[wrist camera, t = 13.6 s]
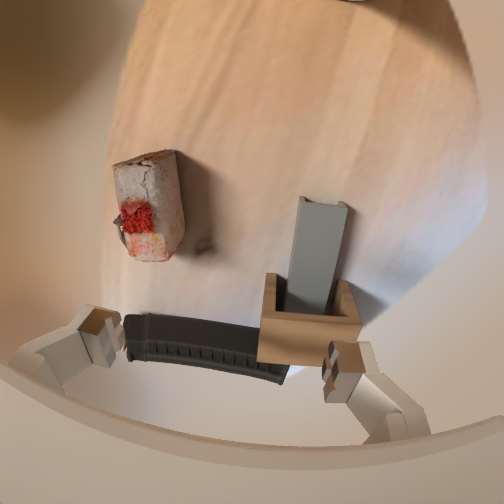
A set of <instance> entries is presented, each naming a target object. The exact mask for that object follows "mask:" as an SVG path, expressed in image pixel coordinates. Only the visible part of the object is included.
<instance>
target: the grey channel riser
mask: <svg viewBox="0 0 504 504" xmlns="http://www.w3.org/2000/svg"><path fill="white" fill-rule="evenodd" d="M347 211H348V208H347V206H346V205H345V204H344V202H341V201H339V203H338V206H336V205H328V204H321V203H313V202H306V201H305V198H304V197H303V196H299V204H298V211H297V218H296V226H295V233H294V240H293V246H292V253H291V260H290V266H289V273H288V279H287V285H286V291H285V297H284V303H283V309H282V312H289V313H300V314H311V315H323V314H324V310H325V307H326V303H327V299H328V295H329V292H330V288H331V284H332V280H333V276H334V271H335V267H336V263H337V259H338V254H339V250H340V245H341V241H342V236H343V231H344V226H345V221H346V216H347Z"/></svg>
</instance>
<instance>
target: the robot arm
mask: <svg viewBox="0 0 504 504" xmlns="http://www.w3.org/2000/svg"><path fill="white" fill-rule="evenodd" d="M349 1H363V0H349ZM121 320H122V319H121V316H120V313H119V312H117V311H113V310H109V309H105V308H102V307H97V306H93V305H90V304H88V305H85V306H84V307H83V308H82V310H81V311H80V312H79V313H78V314H77V315H76V317H75V318H74V319H73V320H72V321H71V323H70V324H69V325H68V326H67V327H65V326H64V327H62V328H59V329H57V330H55V331H52V332H50V333H48V334H46V335H43V336H41V337H39V338H36V339H34V340H32V341H30V342H27V343H25V344H23V345H22V346H21V347H20V348H19V349H18V351H17V352H16V353H15V354H14V355H13V357H12V358H11V359H10V360H9V362H8V363H6V362H5V361H3V360H2V359H0V504H504V416H501V415H499V416H494V417H491V418H489V419H486V420H483V421H480V422H476V423H473V424H470V425H467V426H463V427H460V428H456V429H452V430H448V431H445V432H440V433H436V434H431V431H430V428H429V424H428V422H427V418H426V415H425V412H424V409H423V408H422V407H421V406H420V405H419V404H418V403H417V402H415V401H414V400H413V399H412V398H411V397H410V396H409V395H408V394H407V393H405V392H404V391H403V390H402V389H401V388H400V387H399V386H398V385H396V384H395V383H394V382H393V381H392V380H391V379H390V378H388V377H387V376H386V375H385V374H384V373H380V371H379V368H378V365H377V362H376V359H375V355H374V352H373V349H372V346H371V344H370V342H358V341H357V342H353V341H331V342H330V344H329V347H328V352H329V354H328V355H326V356H325V358H324V361H323V366H322V380H323V381H324V382H325V383H326V384H325V386H324V388H323V390H324V399H325V403H346V405H347V406H348V408H349V409H350V410H351V411H352V413H353V414H354V415H355V416H356V418H357V419H358V420H359V422H360V423H361V424H362V426H363V427H364V428H365V430H366V431H367V432H368V433H369V435H370V436H369V437H368V439H367V440H366V441H365V442H364V443H363V444H362V445H351V446H330V447H298V446H275V445H261V444H251V443H242V442H234V441H227V440H220V439H214V438H208V437H203V436H197V435H192V434H187V433H182V432H178V431H173V430H169V429H165V428H161V427H158V426H154V425H150V424H146V423H143V422H139V421H136V420H133V419H130V418H127V417H123V416H121V415H118V414H114V413H112V412H109V411H106V410H103V409H101V408H98V407H95V406H93V405H90V404H88V403H85V402H83V401H80V400H78V399H76V398H73V397H71V396H69V395H67V394H66V393H65V391H64V390H63V388H62V387H61V386H62V385H63V384H65V383H66V382H68V381H69V380H71V379H72V378H74V377H75V376H77V375H78V374H80V373H81V372H82V371H84V370H86V369H87V368H88V367H90V366H91V365H92V364H95V365H99V366H102V367H105V368H110V367H111V365H112V363H113V362H114V360H115V359H116V354H115V352H117V351H119V350H121V348H122V346H123V345H124V340H125V331H124V328H123V327H122V325H121V324H120V321H121Z"/></svg>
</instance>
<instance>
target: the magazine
mask: <svg viewBox="0 0 504 504" xmlns="http://www.w3.org/2000/svg"><path fill="white" fill-rule="evenodd" d="M123 328H124V331H125V340H124V345H123V346H122V349H123V351H125V349H126V346H127V358H128V361H129V362H132V361H133V360H140V361H146V362H147V361H153V362H164V363H174V364H182V365H189V366H195V367H202V368H208V369H213V370H219V371H224V372H229V373H235V374H241V375H247V376H251V377H256V378H260V379H264V380H267V381H271V382H274V383H278V384H279V385H282V384H283V382H284V379H285V377H286V375H287V372H288V370H289V367H290V365H285V364H273V363H263V362H256V361H257V352H258V343H259V333H260V330H259V329H255V328H249V327H244V326H239V325H234V324H228V323H221V322H215V321H209V320H201V319H193V318H184V317H170V316H157V315H151V314H149V315H135V314H128V315H126V316H125V318H124V322H123Z"/></svg>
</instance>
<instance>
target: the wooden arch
mask: <svg viewBox="0 0 504 504" xmlns="http://www.w3.org/2000/svg"><path fill="white" fill-rule="evenodd" d="M275 300H276V274H274V273H266V280H265V289H264V297H263V306H262V314H261V324H260V333H259V343H258V352H257V361H256V362H263V363H273V364H285V365H299V366H317V367H322V366H323V361H324V358H325V356H326V355H328V354H329V352H328V347H329V344H330V342H331V341H353V342H356V341H357V338H358V335H359V333H360V331H361V328H362V322H361V319H360V316H359V313H358V310H357V307H356V304H355V301H354V298H353V295H352V293H351V290H350V287H349V284H348V281H344V280H338V282H337V286H336V290H335V294H334V297H333V301H332V304H331V308H330V311H329V315H328V316H324V315H311V314H300V313H289V312H278V311H275Z"/></svg>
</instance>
